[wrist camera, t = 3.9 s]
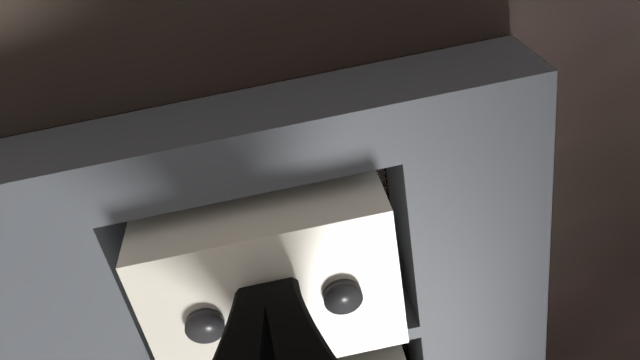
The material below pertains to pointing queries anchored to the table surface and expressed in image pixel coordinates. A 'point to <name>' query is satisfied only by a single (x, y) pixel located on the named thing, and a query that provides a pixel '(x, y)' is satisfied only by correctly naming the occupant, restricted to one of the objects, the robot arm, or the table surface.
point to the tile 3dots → (269, 265)
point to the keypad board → (295, 170)
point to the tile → (379, 354)
